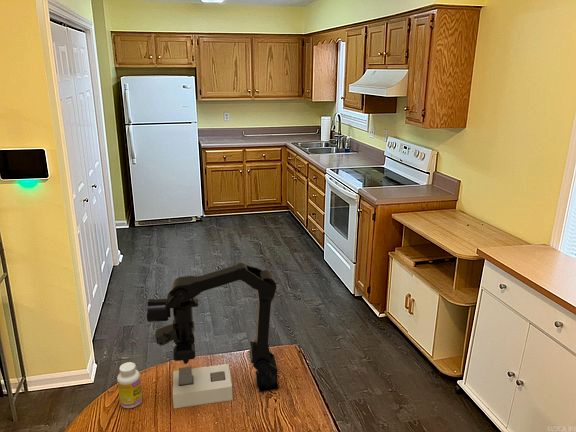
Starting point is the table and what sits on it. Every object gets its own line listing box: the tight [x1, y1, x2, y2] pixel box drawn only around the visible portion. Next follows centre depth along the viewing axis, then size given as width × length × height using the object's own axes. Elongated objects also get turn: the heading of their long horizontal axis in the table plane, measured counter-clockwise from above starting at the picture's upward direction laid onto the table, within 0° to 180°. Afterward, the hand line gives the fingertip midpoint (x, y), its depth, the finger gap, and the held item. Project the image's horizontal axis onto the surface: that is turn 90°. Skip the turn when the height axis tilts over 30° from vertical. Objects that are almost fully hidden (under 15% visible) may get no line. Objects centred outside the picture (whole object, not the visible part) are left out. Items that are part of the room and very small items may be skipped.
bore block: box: [172, 363, 234, 409], centre depth 145 cm, size 18×12×5 cm, turn 102°
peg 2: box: [211, 372, 225, 382], centre depth 146 cm, size 4×4×5 cm
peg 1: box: [178, 365, 193, 386], centre depth 143 cm, size 4×4×5 cm
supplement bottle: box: [116, 361, 143, 409], centre depth 140 cm, size 7×7×13 cm
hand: (185, 363), depth 142 cm, fingers closed
